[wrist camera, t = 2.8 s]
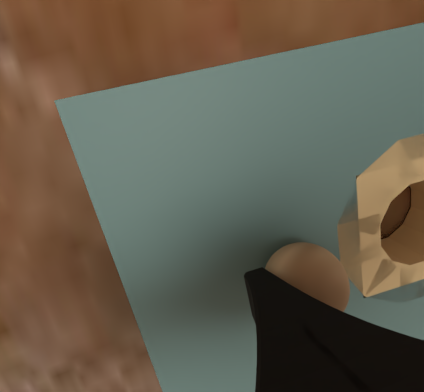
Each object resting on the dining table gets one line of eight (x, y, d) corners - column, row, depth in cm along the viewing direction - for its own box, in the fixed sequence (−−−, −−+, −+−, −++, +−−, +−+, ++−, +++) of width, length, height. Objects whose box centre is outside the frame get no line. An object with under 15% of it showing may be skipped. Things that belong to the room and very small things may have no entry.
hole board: (467, 22, 12) (540, -3, 10) (452, 301, 17) (498, 330, 15) (79, 106, 11) (54, 100, 8) (179, 393, 15) (181, 443, 13)
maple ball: (294, 221, 11) (366, 242, 9) (302, 280, 12) (369, 314, 10) (240, 252, 10) (307, 287, 7) (253, 316, 11) (317, 366, 8)
